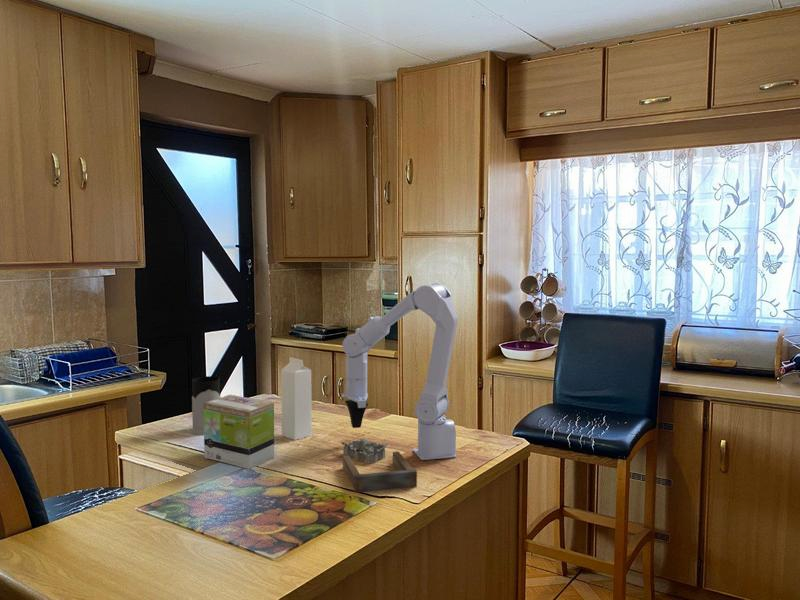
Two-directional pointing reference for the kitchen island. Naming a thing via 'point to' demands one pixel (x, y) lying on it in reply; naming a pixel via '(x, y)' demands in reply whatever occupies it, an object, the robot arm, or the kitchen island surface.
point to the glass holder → (203, 399)
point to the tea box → (239, 430)
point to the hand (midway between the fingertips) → (356, 427)
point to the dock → (381, 476)
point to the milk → (296, 400)
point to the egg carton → (365, 450)
